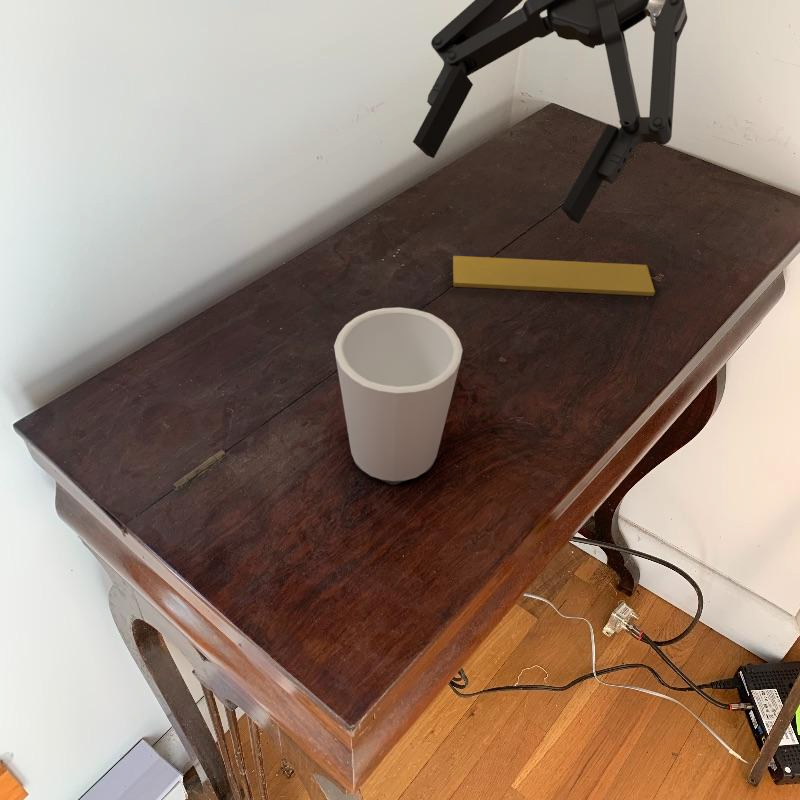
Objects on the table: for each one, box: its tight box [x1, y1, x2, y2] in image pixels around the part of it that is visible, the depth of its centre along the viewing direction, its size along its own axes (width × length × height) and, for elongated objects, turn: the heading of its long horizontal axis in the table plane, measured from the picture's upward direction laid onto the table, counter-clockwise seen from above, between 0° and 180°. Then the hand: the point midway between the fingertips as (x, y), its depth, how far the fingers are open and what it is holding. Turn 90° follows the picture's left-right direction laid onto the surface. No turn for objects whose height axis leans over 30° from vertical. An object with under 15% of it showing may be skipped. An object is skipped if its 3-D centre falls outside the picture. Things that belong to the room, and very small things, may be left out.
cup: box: [333, 306, 464, 486], centre depth 66 cm, size 10×10×13 cm
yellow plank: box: [452, 255, 656, 297], centre depth 89 cm, size 22×5×1 cm, turn 88°
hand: (492, 182), depth 61 cm, fingers open, 13 cm apart
